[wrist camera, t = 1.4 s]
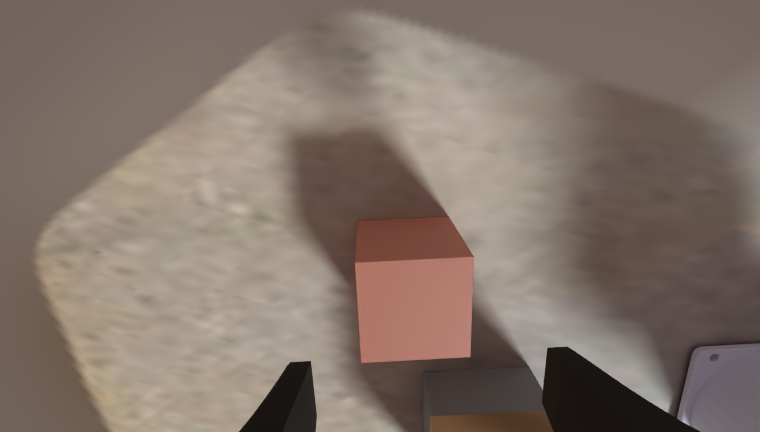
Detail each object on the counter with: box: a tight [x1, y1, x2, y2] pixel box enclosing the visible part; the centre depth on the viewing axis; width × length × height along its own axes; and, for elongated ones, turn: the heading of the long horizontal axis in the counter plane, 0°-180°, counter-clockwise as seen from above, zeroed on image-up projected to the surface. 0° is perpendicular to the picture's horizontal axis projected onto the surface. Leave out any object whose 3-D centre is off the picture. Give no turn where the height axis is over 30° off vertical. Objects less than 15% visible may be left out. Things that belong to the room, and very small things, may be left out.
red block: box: [355, 216, 474, 363], centre depth 19 cm, size 4×4×5 cm
